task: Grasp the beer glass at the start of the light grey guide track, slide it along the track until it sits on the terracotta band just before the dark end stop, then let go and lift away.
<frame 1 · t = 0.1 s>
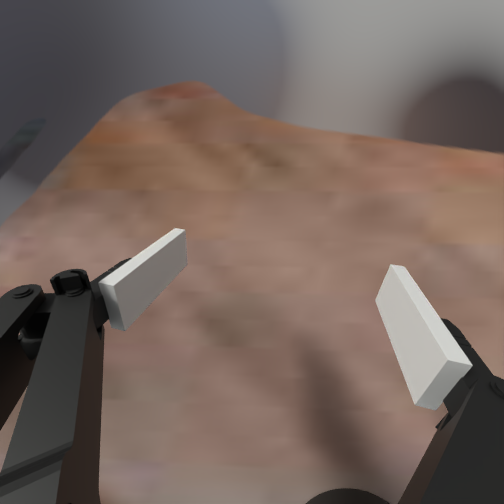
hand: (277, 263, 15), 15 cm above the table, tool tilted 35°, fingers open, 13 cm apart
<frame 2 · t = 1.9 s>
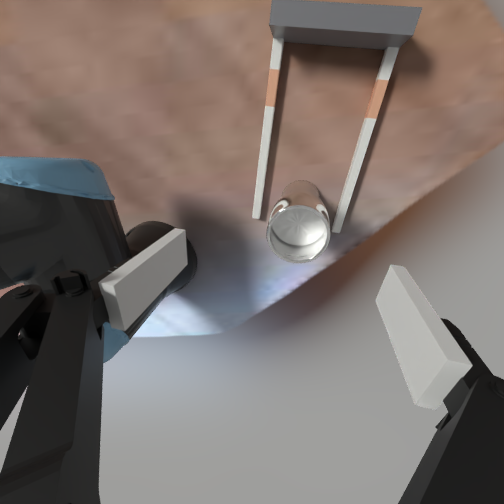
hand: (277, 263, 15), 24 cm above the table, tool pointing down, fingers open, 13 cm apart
guide track: (311, 145, 33), on the table
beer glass: (300, 199, 37), on the table
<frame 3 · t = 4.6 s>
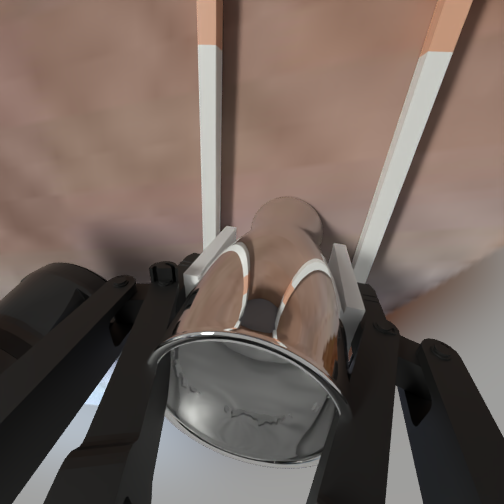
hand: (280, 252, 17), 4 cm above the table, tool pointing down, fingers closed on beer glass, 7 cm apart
guide track: (302, 126, 16), on the table
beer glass: (286, 230, 20), on the table, touching gripper
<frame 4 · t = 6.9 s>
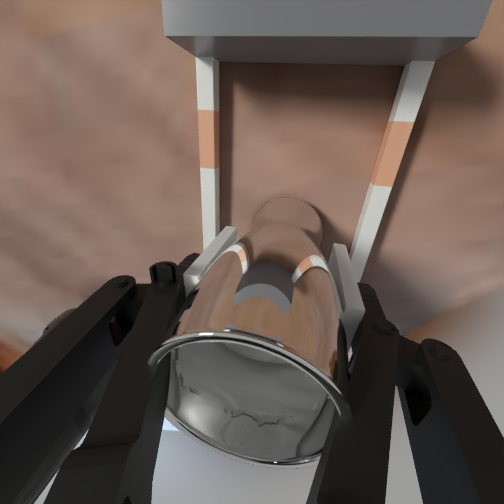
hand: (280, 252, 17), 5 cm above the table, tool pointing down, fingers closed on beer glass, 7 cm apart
guide track: (284, 221, 20), on the table
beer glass: (286, 230, 20), on the table, touching gripper
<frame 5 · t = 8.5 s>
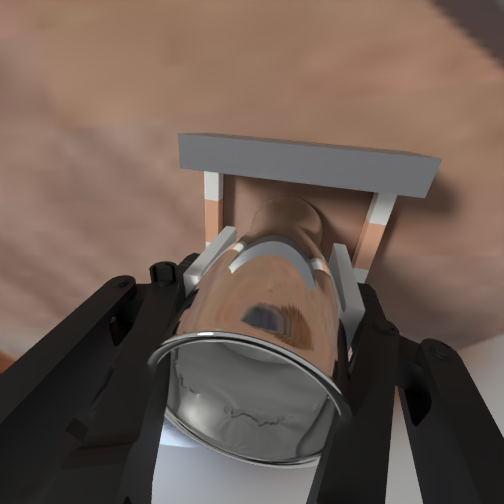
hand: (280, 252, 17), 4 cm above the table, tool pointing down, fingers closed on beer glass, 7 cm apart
guide track: (278, 284, 23), on the table
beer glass: (286, 230, 20), on the table, touching gripper
when the fingers open (4 cm above the table, at t = 9.2 s): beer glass stays where it is, on the table.
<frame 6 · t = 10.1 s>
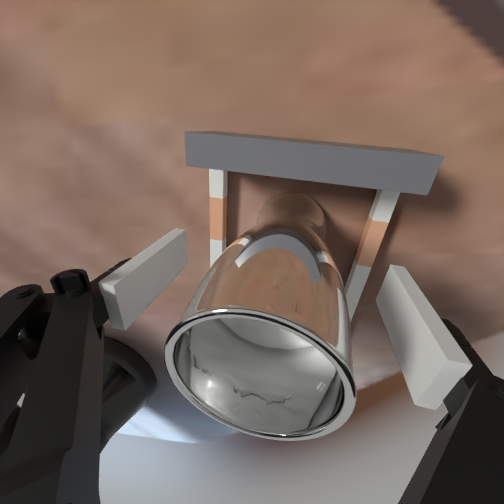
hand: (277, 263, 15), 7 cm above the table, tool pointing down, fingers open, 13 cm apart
guide track: (281, 281, 24), on the table
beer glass: (290, 225, 21), on the table
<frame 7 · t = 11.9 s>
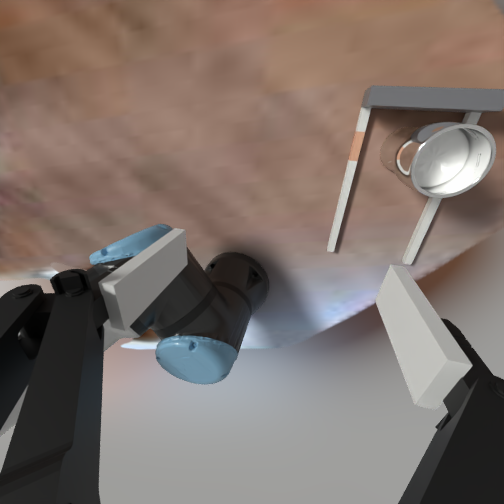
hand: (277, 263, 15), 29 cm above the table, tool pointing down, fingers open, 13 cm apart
guide track: (388, 190, 37), on the table
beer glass: (402, 149, 35), on the table
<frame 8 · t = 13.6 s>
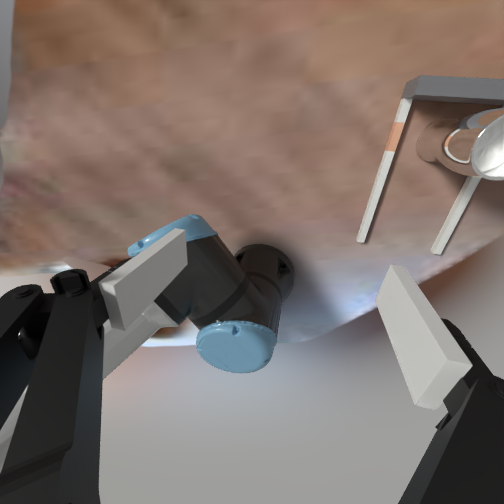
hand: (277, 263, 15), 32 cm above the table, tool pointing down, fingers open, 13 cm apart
guide track: (422, 180, 38), on the table
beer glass: (438, 141, 36), on the table
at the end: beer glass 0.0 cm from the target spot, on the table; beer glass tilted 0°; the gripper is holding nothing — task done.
